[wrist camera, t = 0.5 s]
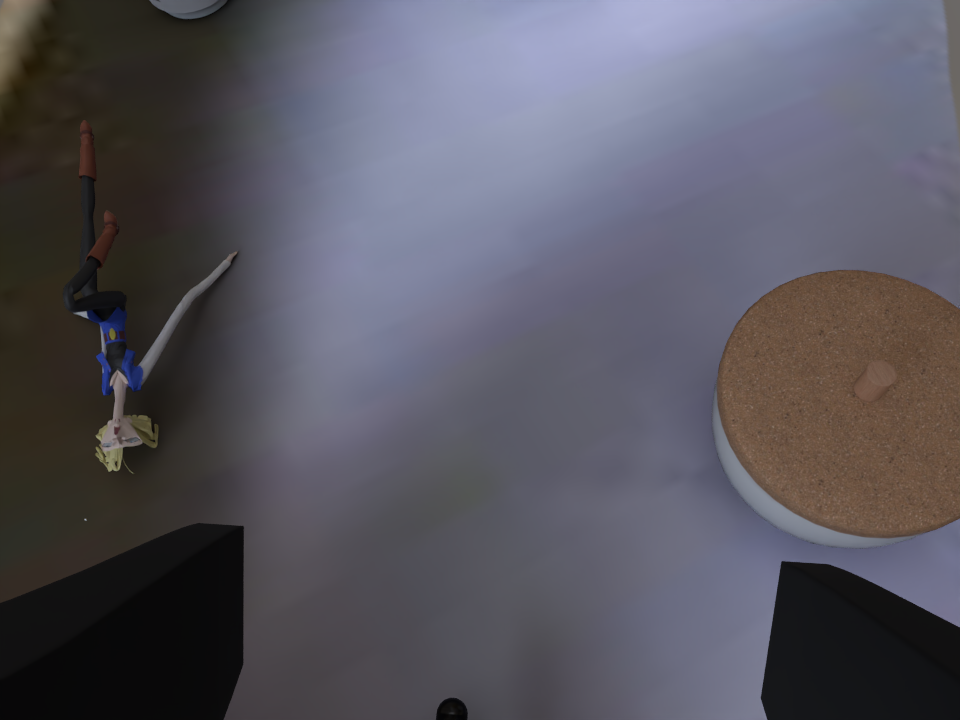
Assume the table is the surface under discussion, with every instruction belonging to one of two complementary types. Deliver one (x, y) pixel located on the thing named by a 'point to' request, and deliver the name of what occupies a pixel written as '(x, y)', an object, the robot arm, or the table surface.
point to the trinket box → (844, 409)
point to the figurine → (116, 320)
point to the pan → (452, 710)
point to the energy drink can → (189, 7)
